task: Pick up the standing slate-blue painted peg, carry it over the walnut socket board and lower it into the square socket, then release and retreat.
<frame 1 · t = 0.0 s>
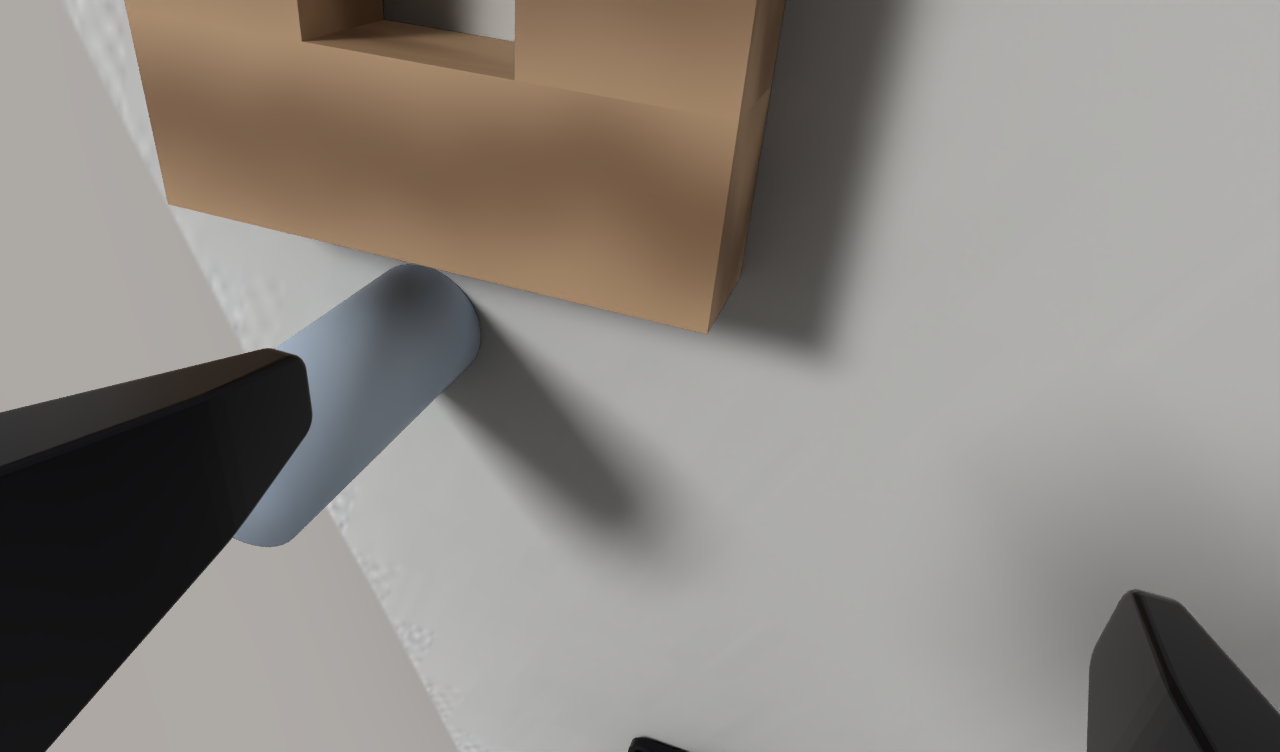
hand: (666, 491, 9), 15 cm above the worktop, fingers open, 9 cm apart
peg: (425, 321, 28), on the worktop
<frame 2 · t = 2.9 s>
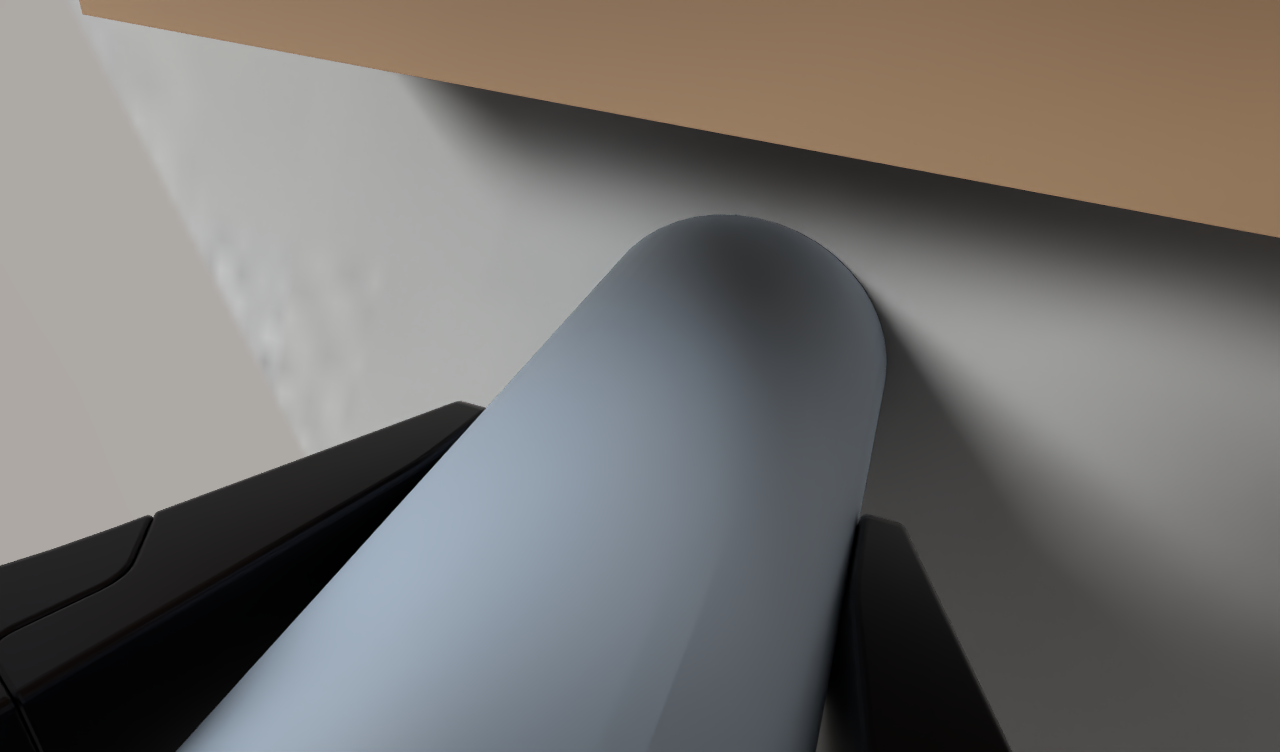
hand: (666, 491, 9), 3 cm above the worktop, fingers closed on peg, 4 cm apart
peg: (733, 356, 12), on the worktop, touching gripper
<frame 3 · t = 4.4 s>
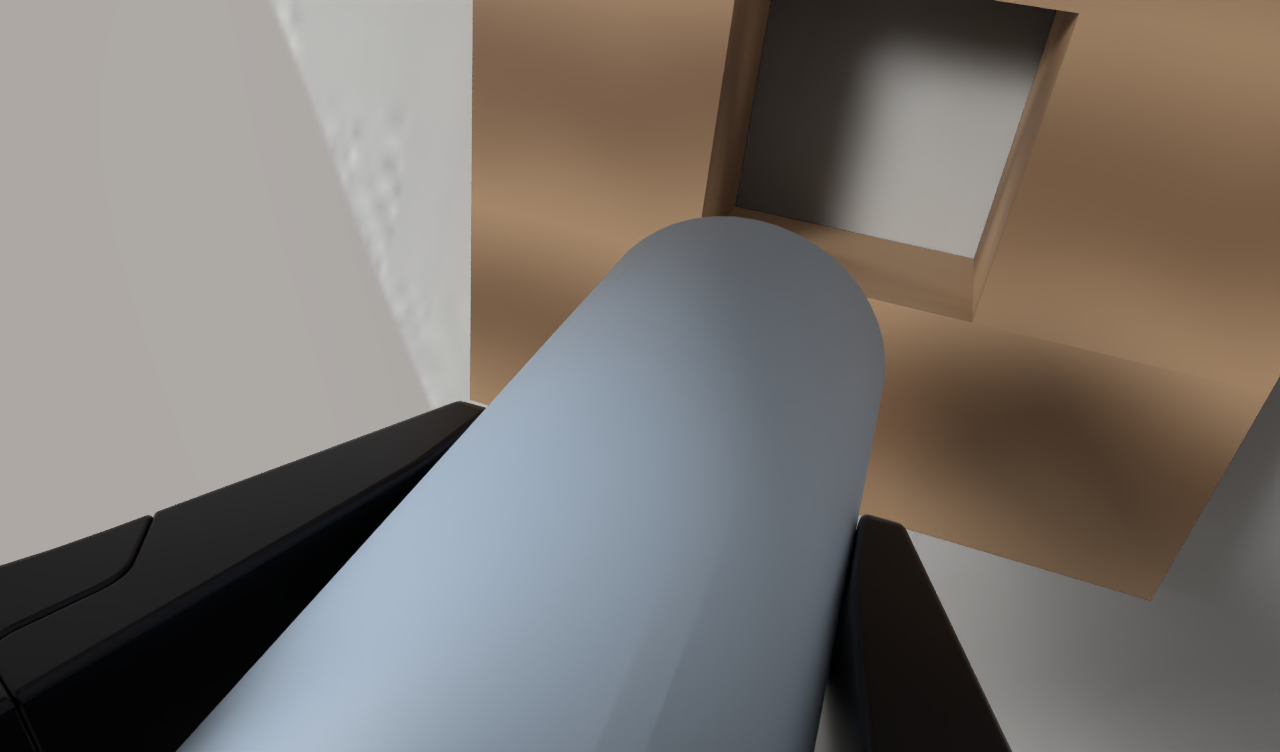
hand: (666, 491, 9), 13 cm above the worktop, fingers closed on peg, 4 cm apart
peg: (731, 358, 12), point 10 cm above the worktop, touching gripper
socket board: (880, 111, 19), on the worktop
when the fingers open (4 cm above the worktop, at t = 6.4 s): peg drops 1 cm, resting in socket board.
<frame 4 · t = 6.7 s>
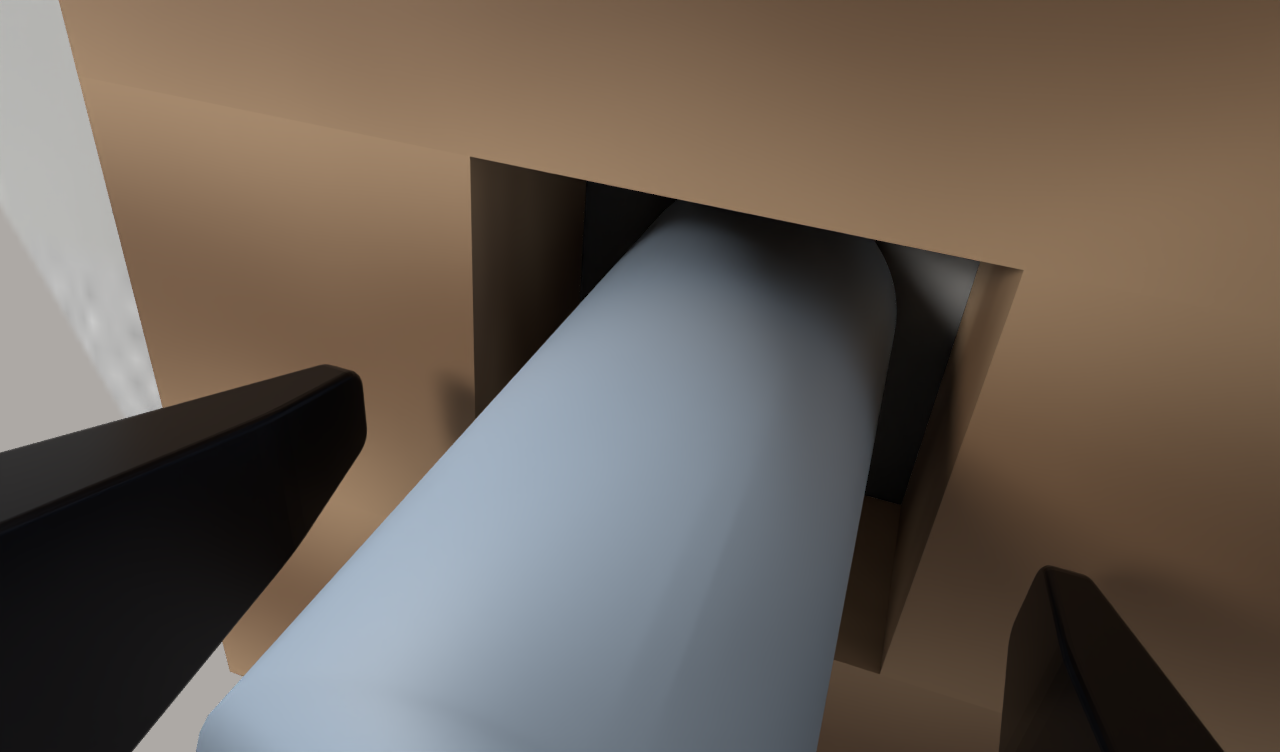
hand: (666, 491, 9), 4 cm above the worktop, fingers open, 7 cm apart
peg: (756, 309, 13), resting in socket board
socket board: (756, 309, 13), on the worktop
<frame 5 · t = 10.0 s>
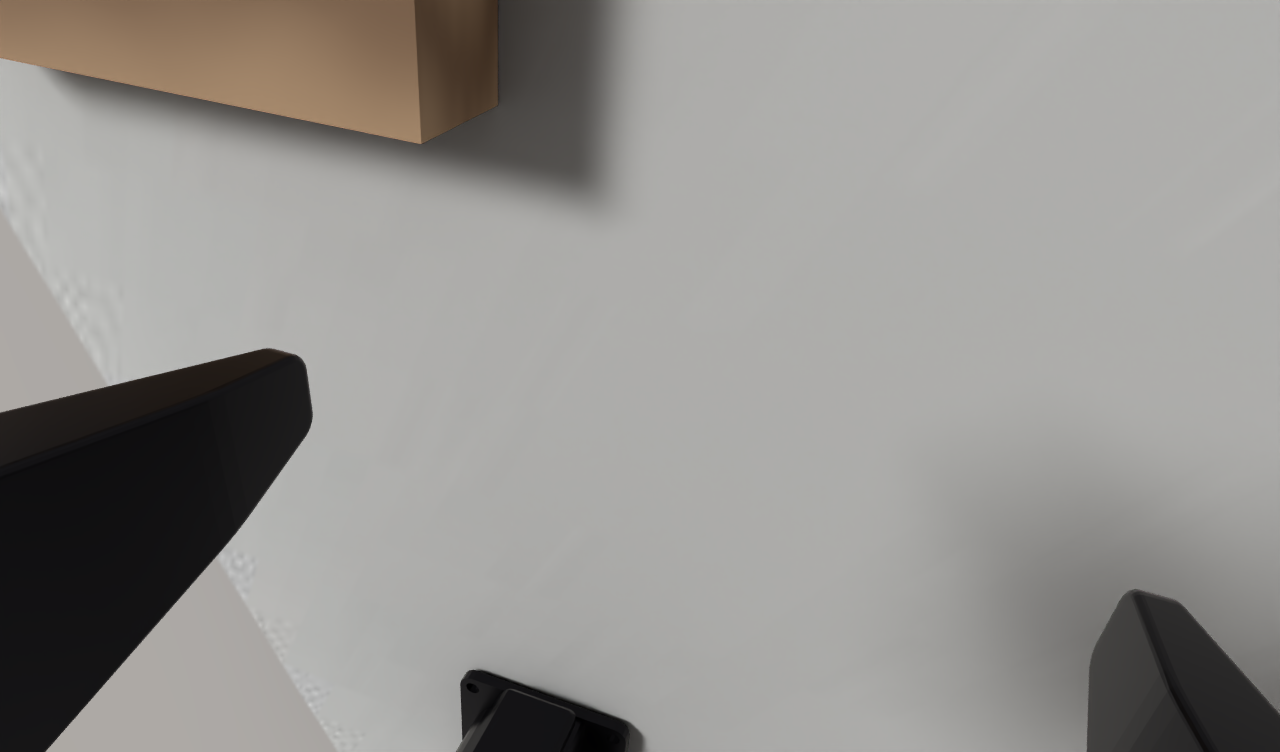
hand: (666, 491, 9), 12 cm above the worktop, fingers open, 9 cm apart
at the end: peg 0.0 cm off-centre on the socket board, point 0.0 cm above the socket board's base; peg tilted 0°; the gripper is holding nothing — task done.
